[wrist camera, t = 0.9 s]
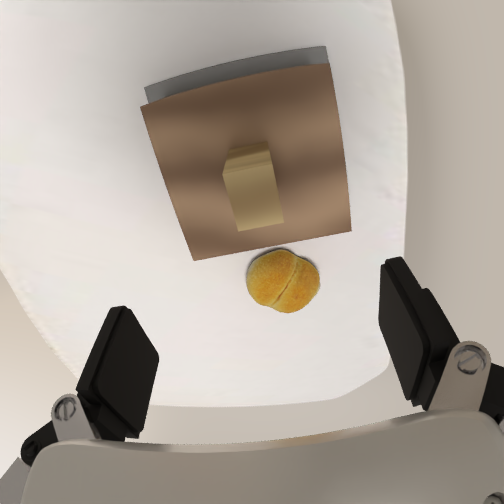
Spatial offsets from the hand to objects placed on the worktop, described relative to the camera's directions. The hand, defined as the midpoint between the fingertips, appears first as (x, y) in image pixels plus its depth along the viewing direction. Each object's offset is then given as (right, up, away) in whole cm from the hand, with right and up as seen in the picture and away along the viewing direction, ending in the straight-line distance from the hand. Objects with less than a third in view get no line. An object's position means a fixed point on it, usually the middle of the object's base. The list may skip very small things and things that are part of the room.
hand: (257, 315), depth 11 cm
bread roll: (+4, -1, +29) cm, 29 cm away
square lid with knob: (0, +13, +19) cm, 23 cm away
